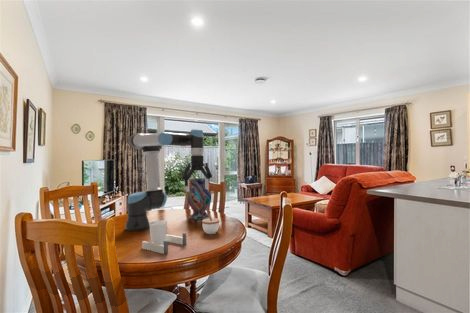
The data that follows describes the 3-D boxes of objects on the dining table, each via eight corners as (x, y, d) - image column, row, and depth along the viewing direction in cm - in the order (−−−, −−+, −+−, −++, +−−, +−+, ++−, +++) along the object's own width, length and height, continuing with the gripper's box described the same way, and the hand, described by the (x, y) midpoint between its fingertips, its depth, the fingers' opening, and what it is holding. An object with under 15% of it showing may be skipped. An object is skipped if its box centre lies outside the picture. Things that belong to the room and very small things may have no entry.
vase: (184, 220, 180) (183, 180, 180) (192, 214, 198) (191, 178, 198) (207, 220, 177) (207, 180, 177) (214, 214, 195) (213, 177, 195)
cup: (152, 242, 132) (152, 220, 132) (169, 241, 133) (168, 220, 133) (147, 248, 123) (147, 225, 123) (165, 247, 124) (165, 224, 124)
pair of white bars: (141, 248, 123) (141, 237, 123) (164, 239, 137) (163, 229, 137) (165, 254, 115) (165, 242, 115) (187, 244, 129) (187, 233, 129)
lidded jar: (217, 235, 142) (216, 220, 142) (199, 235, 144) (199, 219, 144) (221, 230, 152) (221, 215, 152) (205, 229, 154) (205, 215, 154)
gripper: (181, 155, 134) (182, 193, 134) (217, 155, 150) (217, 188, 150) (175, 155, 139) (175, 191, 139) (210, 155, 156) (210, 187, 156)
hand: (197, 190), depth 145 cm, fingers open, 13 cm apart
